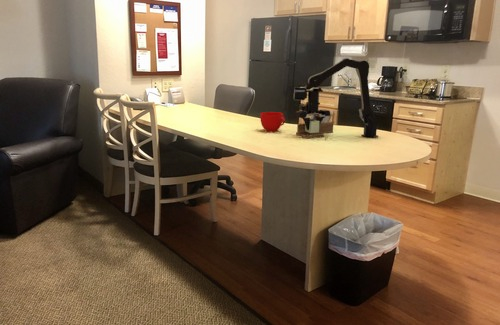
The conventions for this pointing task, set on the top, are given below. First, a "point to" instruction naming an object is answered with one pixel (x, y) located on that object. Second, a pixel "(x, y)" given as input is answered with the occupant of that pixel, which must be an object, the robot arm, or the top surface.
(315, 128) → the cabinet block
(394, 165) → the top surface
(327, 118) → the digital clock
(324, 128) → the wall board
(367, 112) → the robot arm
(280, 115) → the ceramic cup
